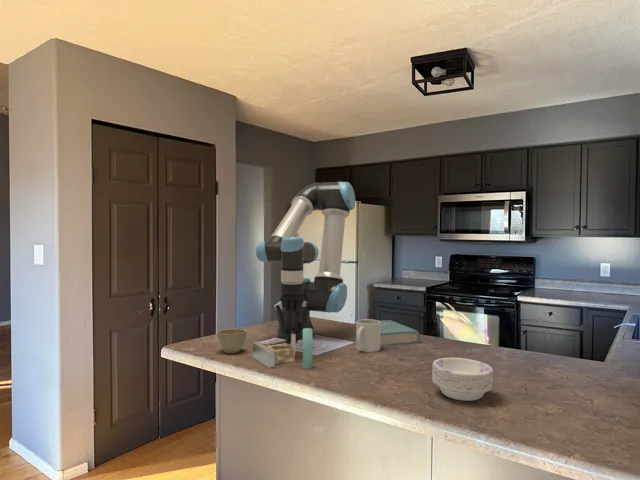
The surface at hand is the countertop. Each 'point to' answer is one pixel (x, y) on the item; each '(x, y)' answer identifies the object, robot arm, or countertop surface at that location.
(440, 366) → the paper bowls
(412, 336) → the book
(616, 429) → the countertop surface
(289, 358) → the block
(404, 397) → the countertop surface
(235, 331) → the flower pot
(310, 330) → the dowel
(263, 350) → the backstop rail
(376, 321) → the mug
